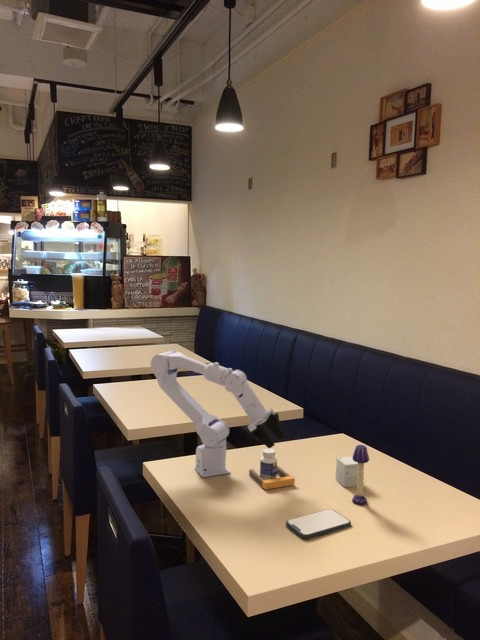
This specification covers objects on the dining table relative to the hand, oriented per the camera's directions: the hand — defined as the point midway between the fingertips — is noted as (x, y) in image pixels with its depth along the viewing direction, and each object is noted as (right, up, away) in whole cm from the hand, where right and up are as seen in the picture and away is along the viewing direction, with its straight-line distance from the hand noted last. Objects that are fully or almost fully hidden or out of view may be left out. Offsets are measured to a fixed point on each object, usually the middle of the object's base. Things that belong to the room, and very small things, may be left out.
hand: (276, 442), depth 158 cm
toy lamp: (+23, -15, -10) cm, 29 cm away
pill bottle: (-2, -13, +5) cm, 14 cm away
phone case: (+9, -17, -24) cm, 30 cm away
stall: (-2, -13, +4) cm, 13 cm away
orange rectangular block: (0, -13, -1) cm, 13 cm away
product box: (+22, -14, +3) cm, 26 cm away
